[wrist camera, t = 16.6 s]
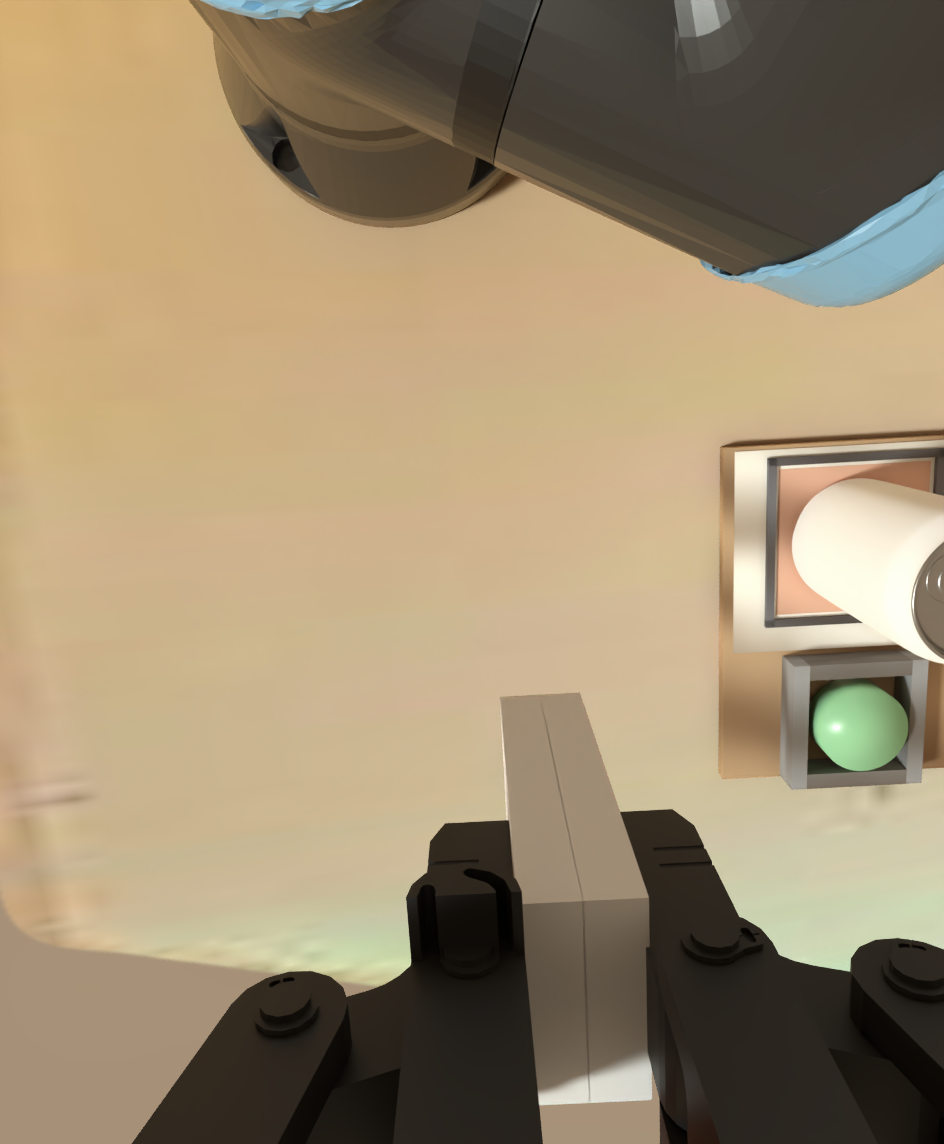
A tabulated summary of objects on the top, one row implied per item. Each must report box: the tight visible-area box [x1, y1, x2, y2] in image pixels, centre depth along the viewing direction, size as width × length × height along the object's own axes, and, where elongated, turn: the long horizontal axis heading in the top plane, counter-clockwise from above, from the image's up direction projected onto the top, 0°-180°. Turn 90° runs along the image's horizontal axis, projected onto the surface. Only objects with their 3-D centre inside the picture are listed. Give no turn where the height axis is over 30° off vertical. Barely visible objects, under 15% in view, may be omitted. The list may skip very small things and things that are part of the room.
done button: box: [808, 678, 908, 771], centre depth 45 cm, size 4×4×2 cm
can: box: [792, 478, 944, 664], centre depth 38 cm, size 6×6×12 cm
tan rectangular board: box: [719, 434, 944, 790], centre depth 45 cm, size 18×13×3 cm
